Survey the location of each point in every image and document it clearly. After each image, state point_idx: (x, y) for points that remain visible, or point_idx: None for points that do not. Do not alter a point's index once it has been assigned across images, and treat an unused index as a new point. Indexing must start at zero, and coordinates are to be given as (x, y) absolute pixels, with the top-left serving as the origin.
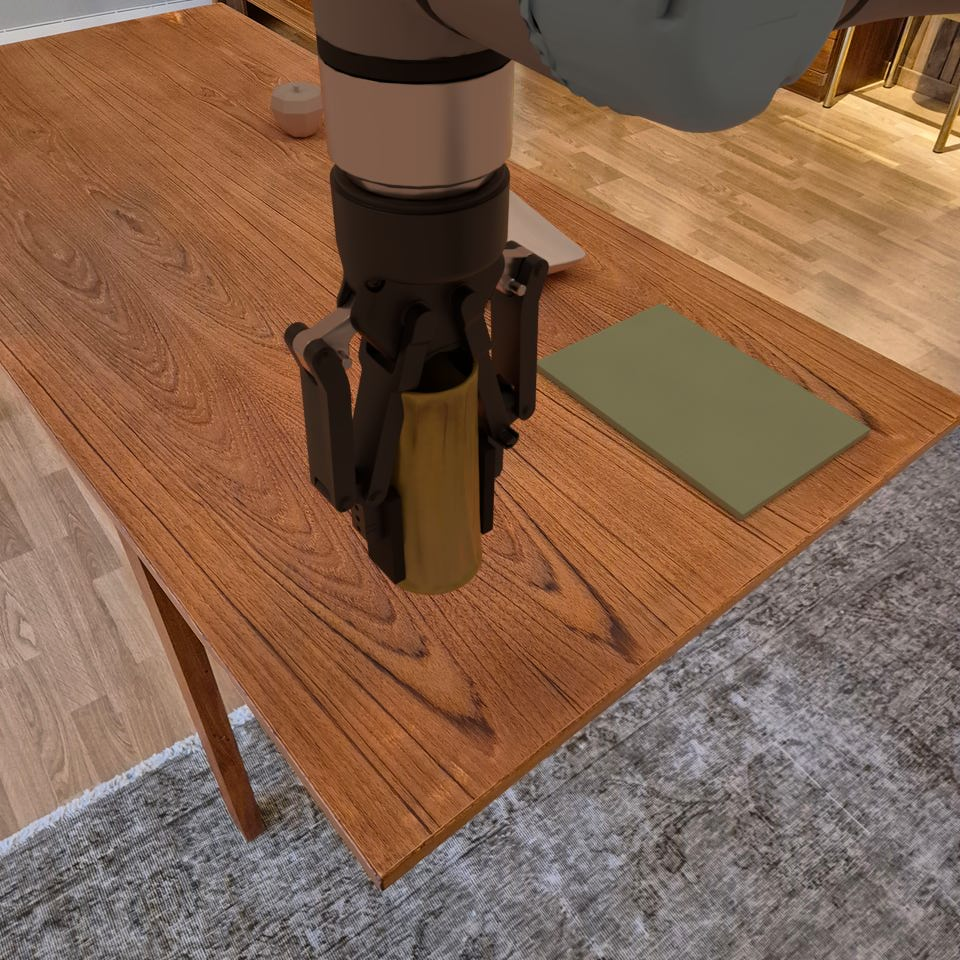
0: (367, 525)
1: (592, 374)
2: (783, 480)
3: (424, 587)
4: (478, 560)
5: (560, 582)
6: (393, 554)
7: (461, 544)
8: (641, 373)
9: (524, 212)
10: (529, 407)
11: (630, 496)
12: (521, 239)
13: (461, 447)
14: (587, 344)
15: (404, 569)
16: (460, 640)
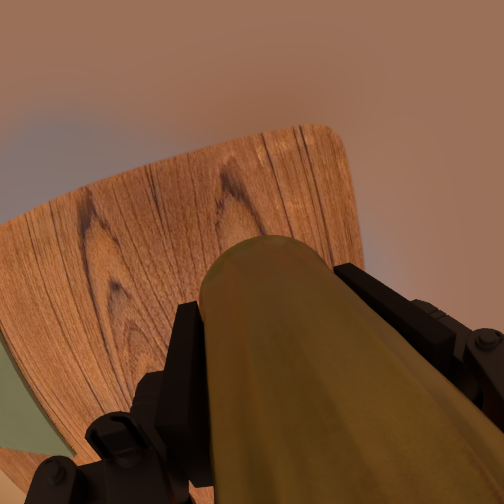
0: (445, 317)
1: (39, 432)
2: None
3: (309, 249)
4: (218, 265)
5: (106, 287)
6: (378, 282)
7: (268, 265)
8: (11, 416)
9: None
10: (46, 480)
11: (33, 336)
12: None
13: (374, 455)
14: (40, 450)
15: (343, 272)
16: (208, 267)
